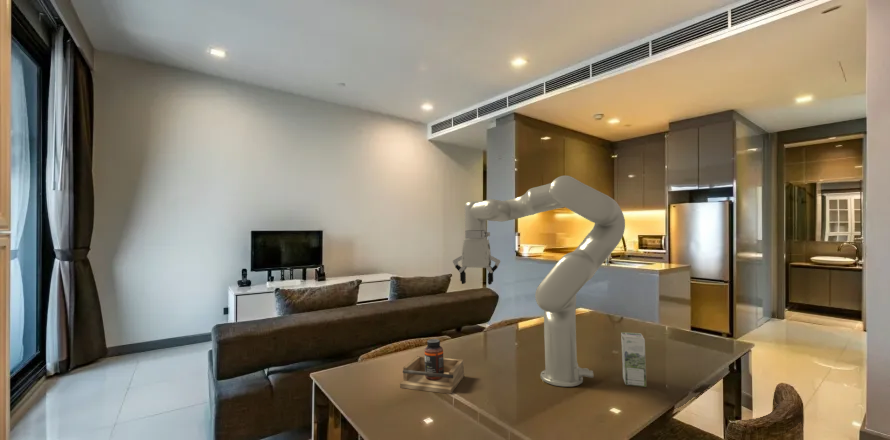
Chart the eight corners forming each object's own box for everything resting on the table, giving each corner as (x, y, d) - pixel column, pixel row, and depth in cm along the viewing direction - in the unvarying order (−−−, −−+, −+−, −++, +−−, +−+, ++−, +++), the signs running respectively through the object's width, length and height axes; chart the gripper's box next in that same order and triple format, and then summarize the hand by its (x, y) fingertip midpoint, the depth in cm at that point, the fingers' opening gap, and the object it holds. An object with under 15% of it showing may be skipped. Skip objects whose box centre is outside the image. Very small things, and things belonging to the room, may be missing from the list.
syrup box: (643, 380, 111) (641, 332, 112) (647, 387, 106) (644, 337, 106) (622, 378, 113) (620, 331, 114) (625, 385, 108) (623, 336, 108)
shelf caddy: (463, 376, 117) (463, 359, 117) (450, 393, 104) (450, 375, 104) (418, 371, 122) (417, 355, 122) (400, 387, 109) (399, 369, 109)
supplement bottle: (444, 373, 116) (444, 338, 117) (442, 381, 110) (442, 343, 111) (426, 373, 117) (425, 337, 117) (423, 380, 111) (423, 343, 112)
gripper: (501, 235, 131) (502, 283, 130) (455, 236, 137) (456, 282, 136) (497, 235, 124) (498, 285, 123) (449, 236, 129) (450, 284, 129)
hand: (476, 283), depth 129 cm, fingers open, 9 cm apart
